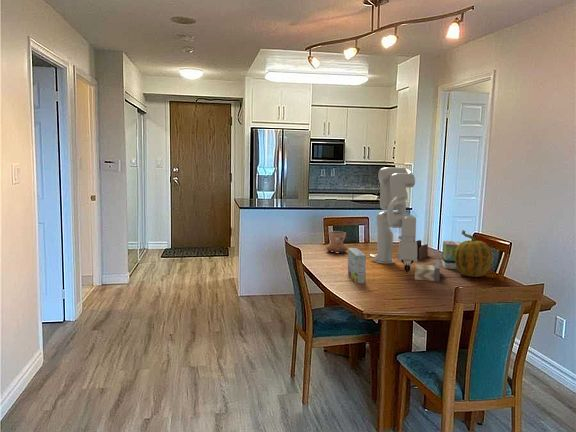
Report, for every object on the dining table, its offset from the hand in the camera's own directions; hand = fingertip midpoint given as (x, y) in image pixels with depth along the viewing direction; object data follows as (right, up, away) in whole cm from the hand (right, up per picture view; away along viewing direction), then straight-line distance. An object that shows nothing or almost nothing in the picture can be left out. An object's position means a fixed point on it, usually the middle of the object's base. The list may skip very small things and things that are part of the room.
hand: (407, 272), depth 259 cm
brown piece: (-31, +5, +71) cm, 78 cm away
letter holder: (+20, +3, +54) cm, 58 cm away
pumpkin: (+37, -3, +4) cm, 37 cm away
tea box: (+34, 0, +27) cm, 43 cm away
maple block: (+9, -3, -2) cm, 10 cm away
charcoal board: (+16, -3, 0) cm, 17 cm away
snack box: (-29, -3, -6) cm, 29 cm away
